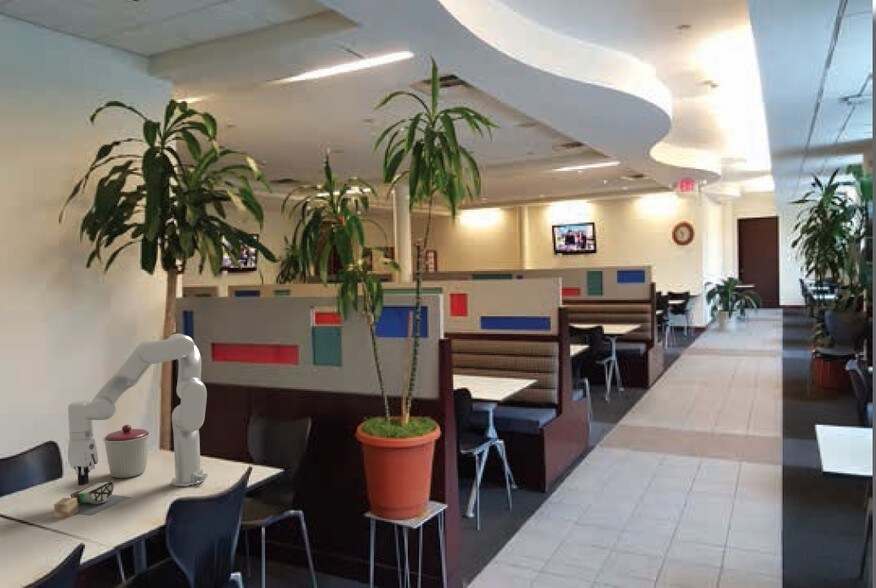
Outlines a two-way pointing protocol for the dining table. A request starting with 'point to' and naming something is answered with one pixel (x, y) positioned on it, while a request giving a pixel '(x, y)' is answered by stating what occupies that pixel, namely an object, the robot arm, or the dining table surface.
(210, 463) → the dining table surface
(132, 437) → the canister
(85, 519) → the dining table surface
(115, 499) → the mat
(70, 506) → the oak block
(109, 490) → the food container
